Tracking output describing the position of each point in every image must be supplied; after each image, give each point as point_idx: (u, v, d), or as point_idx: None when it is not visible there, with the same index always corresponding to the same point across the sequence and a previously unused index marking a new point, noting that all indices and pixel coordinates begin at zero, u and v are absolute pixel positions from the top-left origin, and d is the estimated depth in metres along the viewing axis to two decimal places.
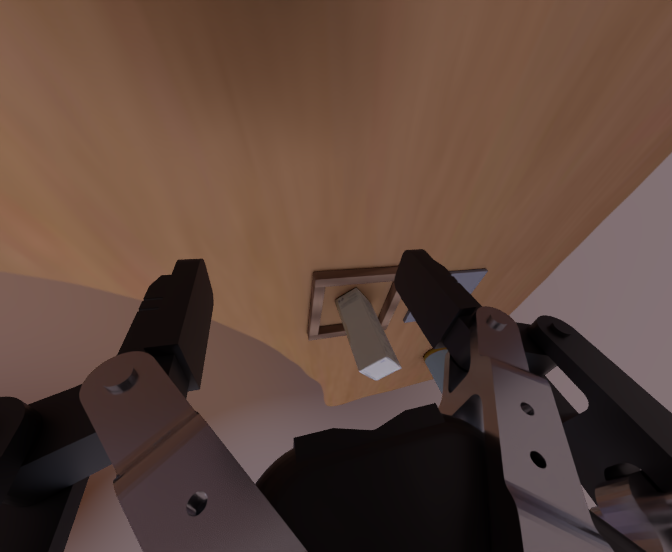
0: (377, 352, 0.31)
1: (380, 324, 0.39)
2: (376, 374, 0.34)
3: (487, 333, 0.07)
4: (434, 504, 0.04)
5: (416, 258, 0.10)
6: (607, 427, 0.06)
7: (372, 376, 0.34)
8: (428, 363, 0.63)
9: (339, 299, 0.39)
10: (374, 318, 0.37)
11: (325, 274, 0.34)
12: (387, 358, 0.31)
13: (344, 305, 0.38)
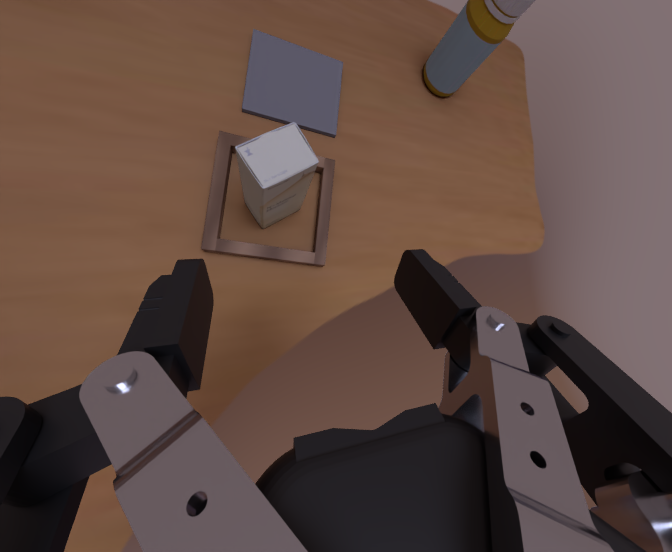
0: (241, 162, 0.21)
1: None
2: (292, 160, 0.22)
3: (487, 333, 0.07)
4: (434, 504, 0.04)
5: (416, 258, 0.10)
6: (607, 427, 0.06)
7: (299, 167, 0.22)
8: (448, 86, 0.40)
9: (258, 222, 0.32)
10: None
11: None
12: (243, 145, 0.21)
13: (255, 215, 0.30)
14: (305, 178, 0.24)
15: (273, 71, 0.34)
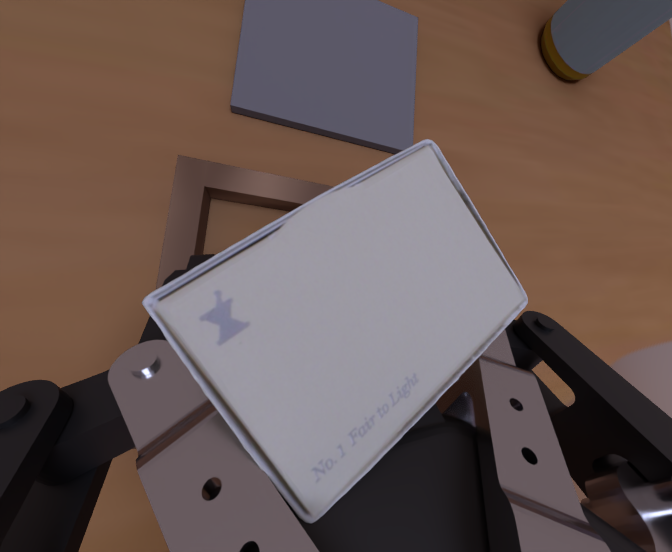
0: None
1: None
2: (437, 320, 0.05)
3: None
4: (430, 511, 0.04)
5: None
6: (594, 420, 0.06)
7: (462, 347, 0.05)
8: (595, 59, 0.23)
9: None
10: None
11: None
12: (196, 281, 0.04)
13: None
14: None
15: (293, 31, 0.17)
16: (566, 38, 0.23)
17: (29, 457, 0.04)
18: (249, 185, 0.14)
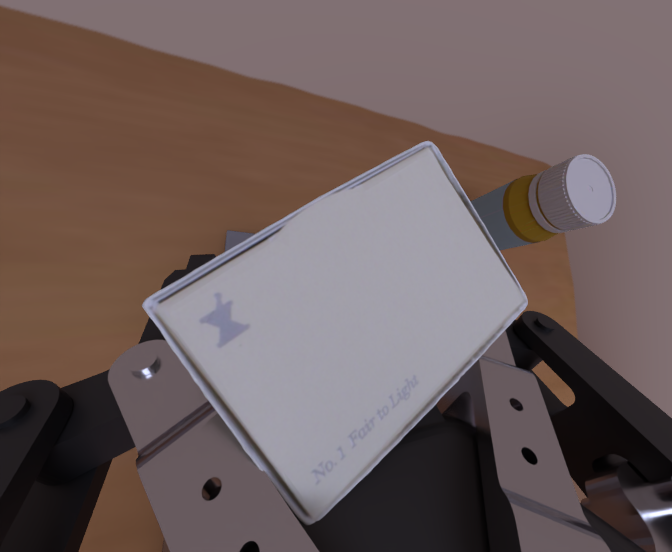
0: None
1: None
2: (437, 322, 0.05)
3: None
4: (431, 511, 0.04)
5: None
6: (594, 420, 0.06)
7: (462, 348, 0.05)
8: None
9: None
10: None
11: None
12: (196, 283, 0.04)
13: None
14: None
15: None
16: None
17: (29, 457, 0.04)
18: None
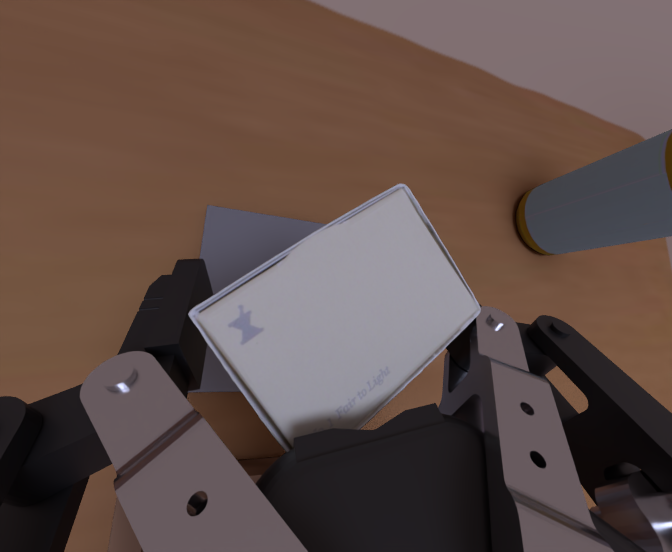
0: None
1: None
2: (405, 326, 0.06)
3: (487, 333, 0.07)
4: (434, 504, 0.04)
5: None
6: (607, 427, 0.06)
7: (425, 346, 0.06)
8: (569, 251, 0.22)
9: None
10: None
11: None
12: (225, 298, 0.05)
13: None
14: None
15: None
16: (539, 230, 0.22)
17: None
18: None
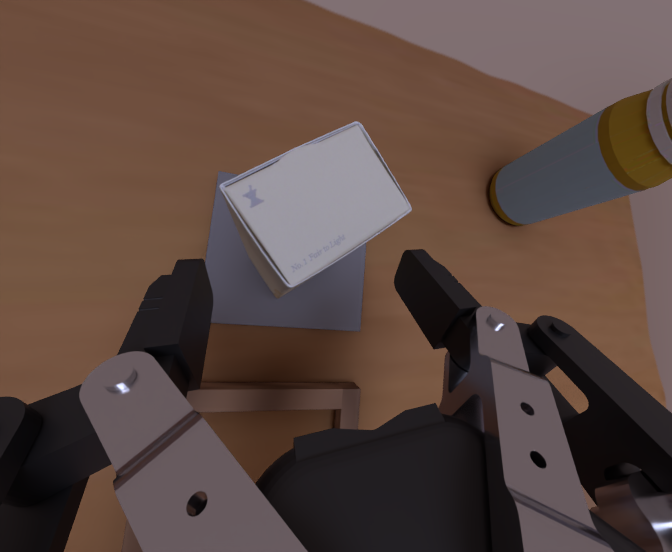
0: (236, 218, 0.09)
1: None
2: (356, 211, 0.09)
3: (487, 333, 0.07)
4: (434, 504, 0.04)
5: (416, 258, 0.10)
6: (607, 427, 0.06)
7: (370, 227, 0.09)
8: (534, 220, 0.25)
9: (270, 289, 0.19)
10: None
11: None
12: (240, 180, 0.08)
13: (266, 283, 0.18)
14: None
15: None
16: (507, 202, 0.25)
17: None
18: (209, 404, 0.17)
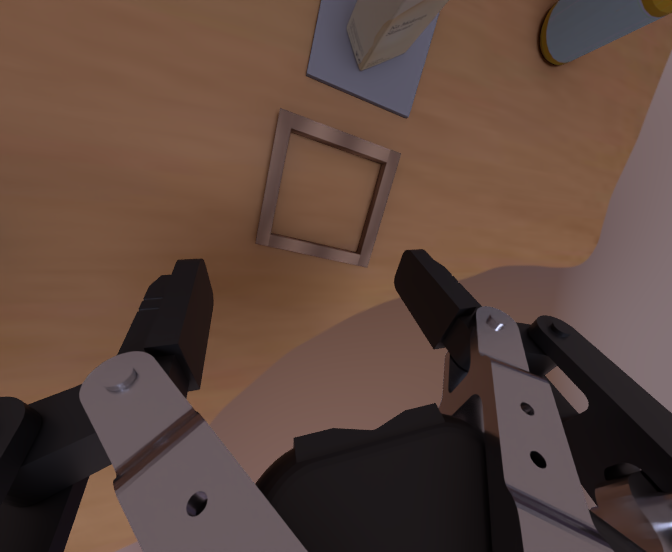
0: None
1: None
2: None
3: (487, 333, 0.07)
4: (434, 504, 0.04)
5: (416, 258, 0.10)
6: (607, 427, 0.06)
7: None
8: (568, 55, 0.31)
9: (357, 60, 0.27)
10: None
11: None
12: None
13: (361, 46, 0.25)
14: None
15: (350, 15, 0.26)
16: (553, 31, 0.30)
17: None
18: (312, 130, 0.28)
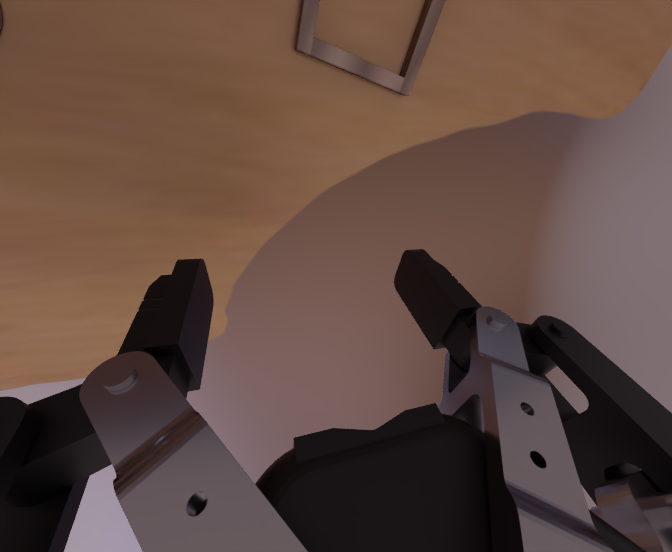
0: None
1: None
2: None
3: (487, 333, 0.07)
4: (434, 504, 0.04)
5: (416, 258, 0.10)
6: (607, 427, 0.06)
7: None
8: None
9: None
10: None
11: (298, 31, 0.26)
12: None
13: None
14: None
15: None
16: None
17: None
18: None
